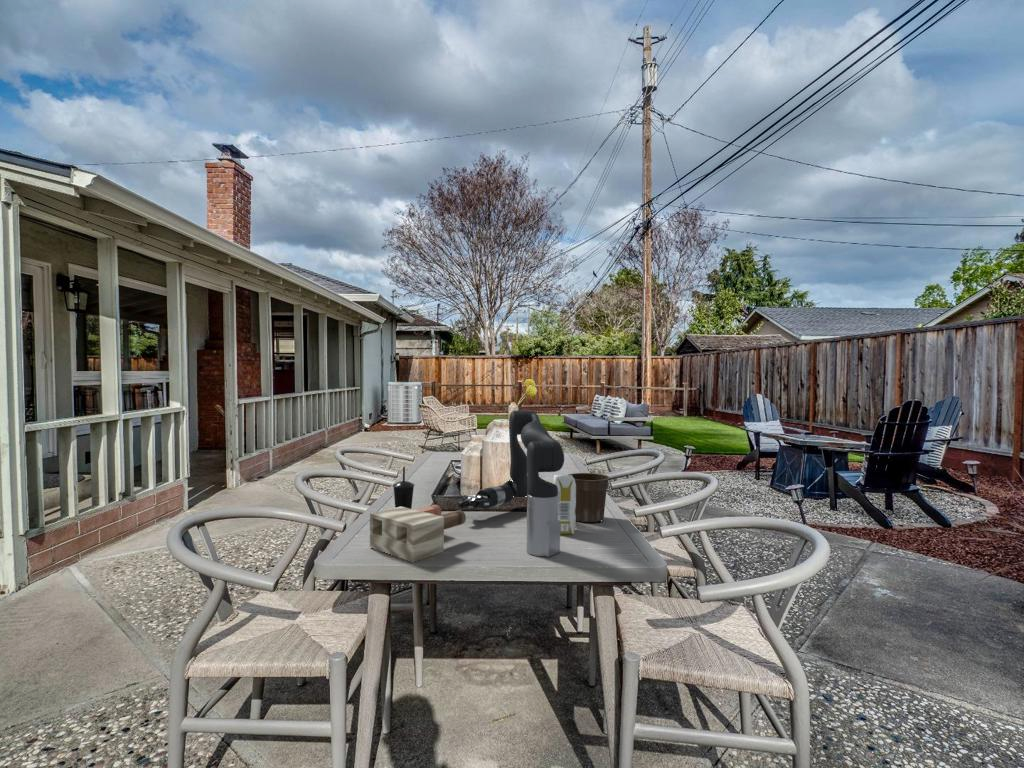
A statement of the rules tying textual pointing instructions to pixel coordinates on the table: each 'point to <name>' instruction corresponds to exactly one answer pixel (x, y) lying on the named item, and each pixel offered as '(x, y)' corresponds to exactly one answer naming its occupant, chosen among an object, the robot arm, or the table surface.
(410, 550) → the socket block
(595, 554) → the table surface
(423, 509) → the terracotta plug
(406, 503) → the drinking cup
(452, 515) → the walnut plug
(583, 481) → the plant pot
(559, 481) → the juice carton
